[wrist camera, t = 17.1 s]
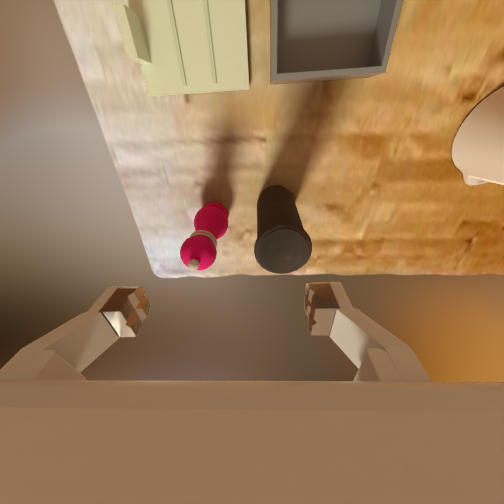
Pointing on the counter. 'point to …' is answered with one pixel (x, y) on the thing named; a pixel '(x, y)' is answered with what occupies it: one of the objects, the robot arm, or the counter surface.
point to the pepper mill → (205, 236)
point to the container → (280, 233)
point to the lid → (186, 44)
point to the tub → (330, 39)
